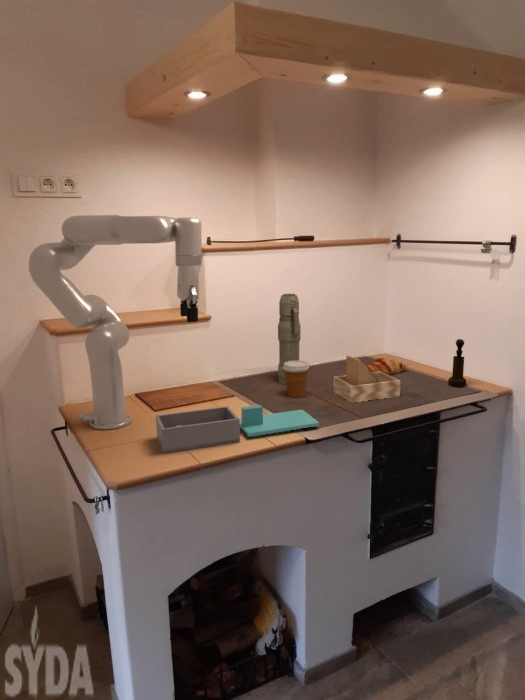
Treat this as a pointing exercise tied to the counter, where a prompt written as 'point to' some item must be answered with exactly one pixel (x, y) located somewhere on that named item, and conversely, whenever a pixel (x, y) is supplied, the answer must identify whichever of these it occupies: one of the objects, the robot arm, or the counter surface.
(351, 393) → the open rectangular storage box
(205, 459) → the counter surface
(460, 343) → the dark brown tall piece
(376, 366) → the croissant
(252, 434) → the lid
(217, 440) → the tub
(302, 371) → the disposable coffee cup
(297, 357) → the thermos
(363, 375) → the sandwich container
